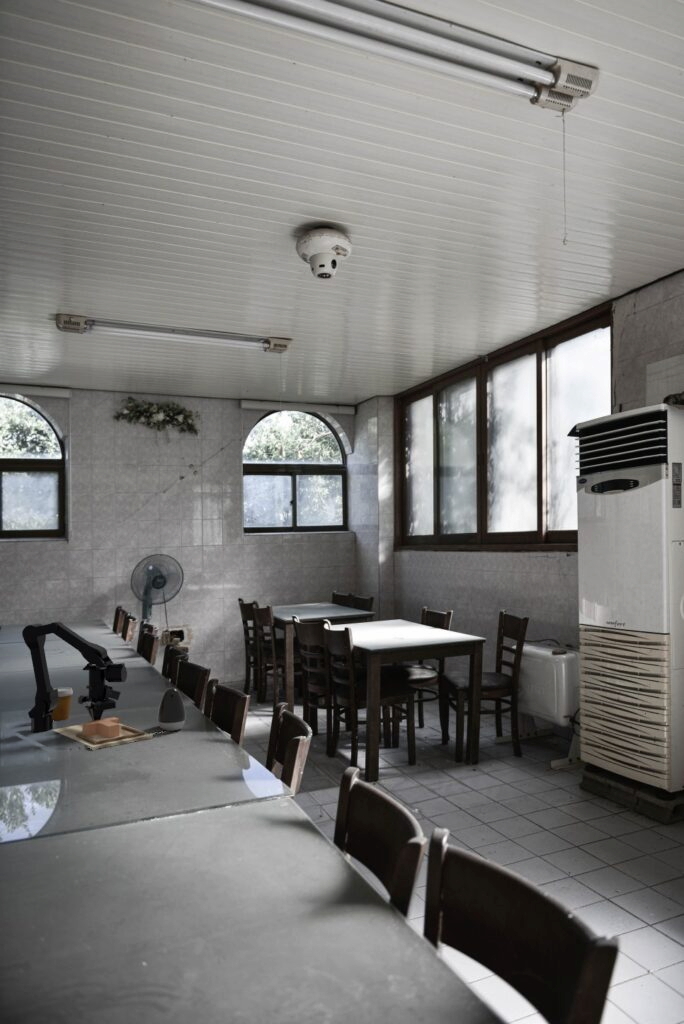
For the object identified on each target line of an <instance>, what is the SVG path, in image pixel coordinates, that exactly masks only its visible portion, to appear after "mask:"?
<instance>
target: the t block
mask: <svg viewBox="0 0 684 1024" xmlns="http://www.w3.org/2000/svg"><path fill="white" fill-rule="evenodd" d="M119 723H120V718H118V717H114V716H113V717H107V718H106V717H105V718H101V719H100V720H95V721H92V720H91V721H86V722H82V723H81V724H82V734H83V735H86V736H91V735H96V734H99V735H102V736H104V737H107V738H112V737H117V736H119Z"/></svg>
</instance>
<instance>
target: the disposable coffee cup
mask: <svg viewBox="0 0 684 1024" xmlns="http://www.w3.org/2000/svg"><path fill="white" fill-rule="evenodd" d="M52 688H53V687H52ZM53 689H54V690H55V689H58V696H59V698H60V700H58V705H57V707H56V708H55V709H54V711H53V713H52V714H50V715H52V719H53V720H54V721H57V722H60V721H61V720H62V721H67V720H66V719H68V718H69V719H70V711H71V704H72V695H73V694H74V691H73V688H72V687H69V686H68V687H65V686H63V687H55V688H53ZM69 719H68V720H69Z"/></svg>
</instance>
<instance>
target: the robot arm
mask: <svg viewBox="0 0 684 1024" xmlns="http://www.w3.org/2000/svg"><path fill="white" fill-rule="evenodd" d="M51 634H54V635H55V636H56V637H58V638H60V639H61V640H62V641H64V642H65V643H67V644H68V645H69V646H71V647H73V649H75V650H77V651H78V652H79V653H80V654H81V656H82V658H84V660H85V661H87V662H88V663H86V665H85V666H84V667H83V668H82V670H83V671H88V685H86V689H88V693H86V694H81V695H79V696H78V697H77V698H78V699H77V703H78V704H80V705H83V704H84V703H87V704H86V705H85V709H86V711H87V713H88V714H89V716H90V719H91V721H95V720H101V719H102V717H103V713H104V711H107V710H112V709H116V708H117V702H116V701H119V699H120V697H121V693H122V692H121V690H120V691H119V690H115V689H113V686H110V685H108V684H106V681H107V683H125V682H126V681H127V677H128V671H127V668H126V665H125V662H121V663H114V661H113V660H112V659H111V657H110V656H109V654H108V650H107V648H105V647H103V646H101V645H100V644H97V643H93V642H91V641H88V640H87V639H85V638H84V637H82V636H81V635H79V634H78V633H76V632H75V631H73V630H72V629H71V628H69V627H68V626H66V625H65V624H64V623H63V622H61V621H55V622H51V623H47V624H41V623H32V624H29V625H26V626H25V627H24V628H23V629H22V631H21V635H22V638H23V642H24V644H25V645H26V647H27V648H28V650H29V651H30V652H29V653H30V657H31V663H32V668H33V674H34V679H35V685H36V691H35V692H36V693H35V695H34V706H33V707H32V708H31V709H30V710H28V712H27V714H28V717H29V719H30V731H31V732H32V733H33V734H34V733H35V734H36V733H44V732H49V731H53V729H54V722H53V719H52V715H51V714H52V713H53V711H54V709H55V708H56V707H57V705H58V700H60V698H59V696H58V689H55V690H54V689H53V686H52V685H51V680H50V675H49V669H48V662H47V657H46V652H45V643H46V639H47V636H46V635H51Z"/></svg>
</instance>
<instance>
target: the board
mask: <svg viewBox="0 0 684 1024" xmlns="http://www.w3.org/2000/svg"><path fill="white" fill-rule="evenodd" d="M52 731H54V732H56V733H58V734H61V735H63V736H65V737H67V738H70V739H71V740H74V741H77V742H79V743H81V744H84V746H85V747H84V748H86V747H87V748H86V749H88V748H90V749H89V750H91V749H92V750H91V751H94V750H93V749H96V750H100V749H99V748H101V749H106V748H110V746H111V747H114V746H115V745H116V746H120V744H121V745H125V743H126V744H130V742H131V743H135V741H136V742H139V741H144V740H149V739H153V738H154V736H153V734H151V733H149V732H145V731H142V730H139V729H137V728H133V727H130V726H127V725H125V724H122V723H120V722H119V736H117V737H112V738H107V737H104V736H102V735H99V734H96V735H91V736H86V735H83V734H82V723H81V724H76V725H70V726H65V727H60V728H55V729H54V728H53V729H52ZM116 746H115V747H116ZM105 747H106V748H105Z"/></svg>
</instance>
